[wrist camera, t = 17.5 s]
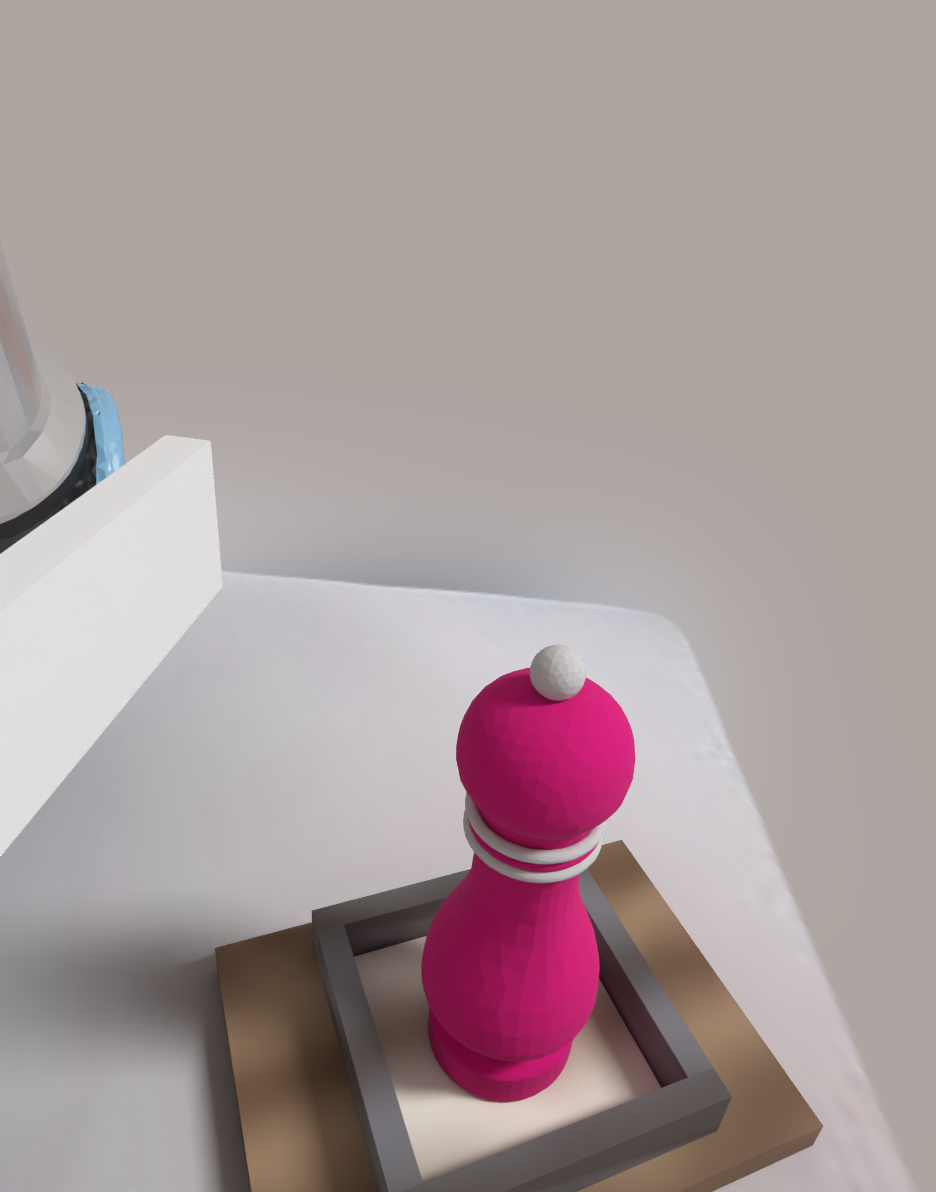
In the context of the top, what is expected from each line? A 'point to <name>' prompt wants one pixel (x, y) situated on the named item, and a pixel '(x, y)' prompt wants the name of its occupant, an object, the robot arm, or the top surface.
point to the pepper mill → (525, 877)
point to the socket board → (481, 1126)
